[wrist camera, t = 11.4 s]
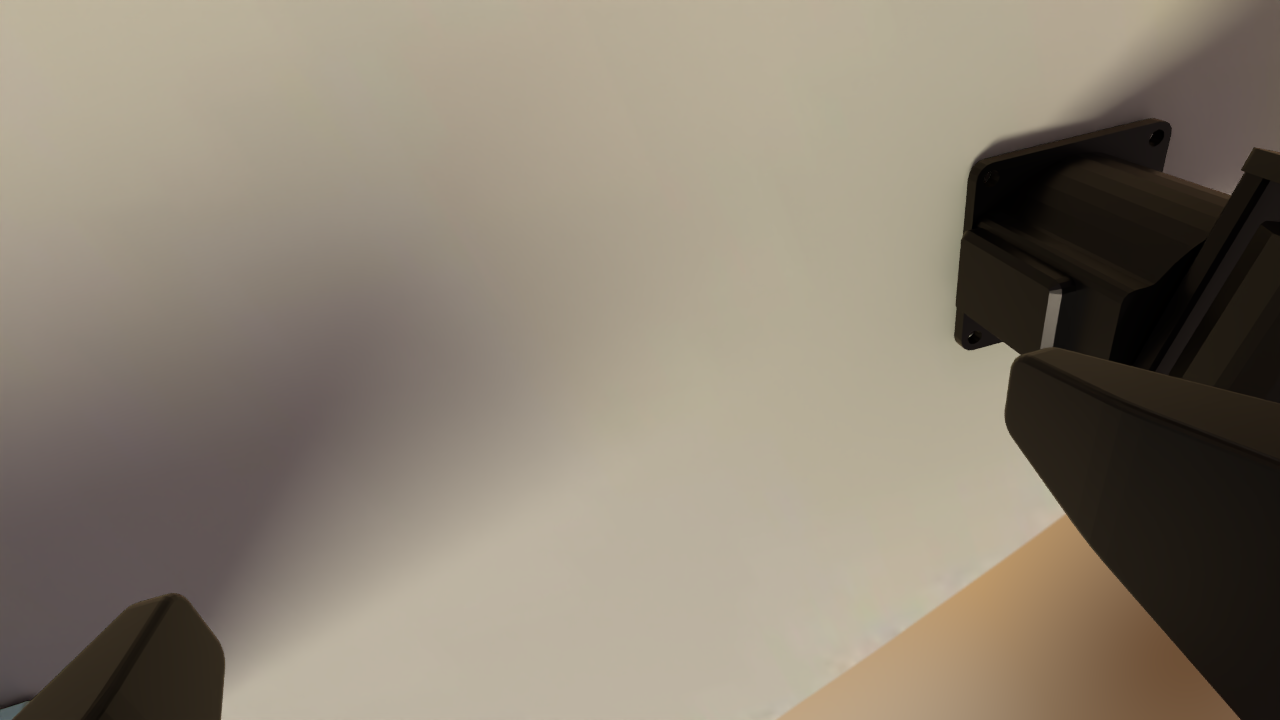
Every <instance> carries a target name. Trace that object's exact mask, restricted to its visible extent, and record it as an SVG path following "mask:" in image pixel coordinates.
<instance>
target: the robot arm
mask: <svg viewBox="0 0 1280 720" xmlns="http://www.w3.org/2000/svg"><path fill="white" fill-rule="evenodd" d="M1171 129H1172V128H1171V126H1170V124H1169V123H1168V122H1166V121H1163V120H1159V119H1155V118H1149V119H1145V120H1141V121H1137V122H1133V123H1129V124H1125V125H1121V126H1117V127H1113V128H1108V129H1104V130H1100V131H1096V132H1092V133H1088V134H1084V135H1080V136H1076V137H1072V138H1068V139H1063V140H1059V141H1055V142H1051V143H1047V144H1043V145H1039V146H1035V147H1031V148H1027V149H1023V150H1019V151H1014V152H1010V153H1006V154H1002V155H998V156H994V157H990V158H986V159H983V160H981V161H979V162H978V163H977V164H975V165H974V166H973V168H972V169H971V171H970V173H969V177H968V184H967V196H966V207H965V219H964V230H963V237H962V240H961V249H960V260H959V272H958V283H957V295H956V307H957V310H956V321H955V333H954V337H955V341H956V342H957V343H958V344H959V345H960V346H962V347H963V348H964V349H966V350H975V349H978V348H982V347H986V346H989V345H993V344H996V343H1000V342H1004V343H1006V344H1007V345H1008V346H1010V347H1011V348H1012V349H1014V350H1015V351H1016V352H1018V353H1019V354H1021V355H1020V356H1018V357H1017V358H1016V359H1015V360H1014V362H1013V363H1012V366H1011V370H1010V377H1009V384H1008V391H1007V398H1006V405H1005V415H1004V416H1005V423H1006V426H1007V429H1008V431H1009V433H1010V435H1011V437H1012V438H1013V440H1014V441H1015V443H1016V444H1017V445H1018V447H1019V448H1020V450H1021V451H1022V452H1023V454H1024V455H1025V457H1026V458H1027V459H1028V461H1029V462H1030V464H1031V465H1032V466H1033V468H1034V469H1035V471H1036V472H1037V473H1038V475H1039V476H1040V478H1041V479H1042V481H1043V482H1044V483H1045V485H1046V486H1047V488H1048V489H1049V490H1050V492H1051V493H1052V495H1053V496H1054V497H1055V499H1056V500H1057V502H1058V503H1059V504H1060V506H1061V507H1062V509H1063V510H1064V512H1065V513H1066V514H1067V516H1068V517H1069V519H1070V520H1071V521H1072V523H1073V524H1074V526H1075V527H1076V528H1077V530H1078V531H1079V532H1080V533H1081V535H1082V536H1083V537H1084V539H1085V540H1086V541H1087V543H1088V544H1089V545H1090V546H1091V548H1092V549H1093V550H1094V551H1095V553H1096V554H1097V555H1098V556H1099V557H1100V559H1101V560H1102V561H1103V562H1104V563H1105V564H1106V566H1107V567H1108V568H1109V569H1110V570H1111V571H1112V573H1113V574H1114V575H1115V576H1116V577H1117V578H1118V579H1119V581H1120V582H1121V583H1122V584H1123V585H1124V586H1125V587H1126V589H1127V590H1128V591H1129V592H1130V593H1131V594H1132V595H1133V597H1134V598H1135V599H1136V600H1137V601H1138V602H1139V603H1140V604H1141V606H1142V607H1143V608H1144V609H1145V610H1146V611H1147V613H1148V614H1149V615H1150V616H1151V617H1152V618H1153V620H1154V621H1155V622H1156V623H1157V624H1158V625H1159V626H1160V627H1161V629H1162V630H1163V631H1164V632H1165V633H1166V634H1167V636H1168V637H1169V638H1170V639H1171V640H1172V641H1173V642H1174V643H1175V645H1176V646H1177V647H1178V648H1179V649H1180V650H1181V652H1182V653H1183V654H1184V655H1185V656H1186V657H1187V658H1188V660H1189V661H1190V662H1191V663H1192V664H1193V665H1194V666H1195V668H1196V669H1197V670H1198V671H1199V672H1200V673H1201V675H1202V676H1203V677H1204V678H1205V679H1206V680H1207V681H1208V683H1209V684H1210V685H1211V686H1212V687H1213V688H1214V689H1215V691H1216V692H1217V693H1218V694H1219V695H1220V696H1221V697H1222V699H1223V700H1224V701H1225V702H1226V703H1227V704H1228V706H1229V707H1230V708H1231V709H1232V710H1233V711H1234V712H1235V714H1236V715H1237V716H1238V717H1239V718H1240V719H1241V720H1280V152H1276V151H1271V150H1266V149H1261V148H1255V147H1254V148H1253V150H1252V152H1251V154H1250V155H1249V157H1248V159H1247V160H1246V162H1245V164H1244V166H1243V167H1242V169H1241V170H1242V171H1244V172H1245V173H1244V174H1243V176H1242V178H1241V180H1240V181H1239V183H1238V185H1237V186H1236V188H1235V190H1234V192H1233V193H1232V195H1228V194H1225V193H1222V192H1219V191H1216V190H1213V189H1210V188H1207V187H1204V186H1201V185H1198V184H1195V183H1192V182H1189V181H1186V180H1183V179H1180V178H1177V177H1174V176H1171V175H1168V174H1165V173H1162V171H1163V167H1164V163H1165V158H1166V154H1167V150H1168V146H1169V141H1170V137H1171ZM1152 134H1153V135H1152ZM1151 135H1152V137H1151V138H1150V136H1151ZM1149 139H1150V140H1149ZM990 171H991V175H990V178H989V179H988V180H987V181H986V182H984V178H985V176H986V175H987V174H988V172H990ZM972 332H974V333H973V334H972V335H971V336H970V337H969V335H970V334H971V333H972ZM968 337H969V338H968ZM224 674H225V658H224V653H223V649H222V647H221V644H220V642H219V641H218V639H217V638H216V636H215V635H214V634H213V632H212V631H211V630H210V628H209V627H208V626H207V624H206V623H205V622H204V620H203V619H202V618H201V616H200V615H199V614H198V613H197V611H196V610H195V609H194V607H193V606H192V605H191V603H190V602H189V601H188V600H187V599H186V598H185V597H184V596H182V595H180V594H177V593H170V594H165V595H162V596H158V597H155V598H151V599H148V600H144V601H140V602H138V603H135V604H133V605H131V606H129V607H128V608H127V609H126V610H124V611H123V612H122V613H121V614H120V615H119V616H118V617H117V618H116V619H115V620H114V621H113V622H112V623H111V624H110V625H109V626H108V627H107V628H106V629H105V630H104V631H103V632H102V633H101V634H100V635H99V636H97V637H96V638H95V639H94V640H93V641H92V642H91V643H90V644H89V645H88V646H87V647H86V648H85V649H84V650H83V651H82V652H81V653H80V654H79V655H78V656H77V657H76V658H75V659H74V660H73V661H72V662H71V663H70V664H69V665H68V666H66V667H65V668H64V669H63V670H62V671H61V672H60V673H59V674H58V675H57V676H56V677H55V678H54V679H53V680H52V681H51V682H50V683H49V684H48V685H47V686H46V687H45V688H44V689H43V690H42V691H41V692H40V693H39V694H38V695H37V696H36V697H34V698H33V699H32V700H31V701H30V702H29V703H28V704H27V705H26V706H25V707H24V708H23V709H22V710H21V711H20V712H19V713H18V714H17V715H16V716H15V717H14V718H13V719H12V720H221V712H222V700H223V687H224Z"/></svg>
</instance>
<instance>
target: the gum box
mask: <svg viewBox="0 0 1280 720" xmlns="http://www.w3.org/2000/svg"><path fill="white" fill-rule="evenodd" d="M29 702H30V701H26V702H23V703H20V704H17V705H14V706H11V707H7V708H4V709H1V710H0V720H12V719H13V718H14V717H15V716H16V715H17V714H18V713H19V712H20V711H21V710H22V709H23V708H24V707H25V706H26V705H27V704H28V703H29Z"/></svg>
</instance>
